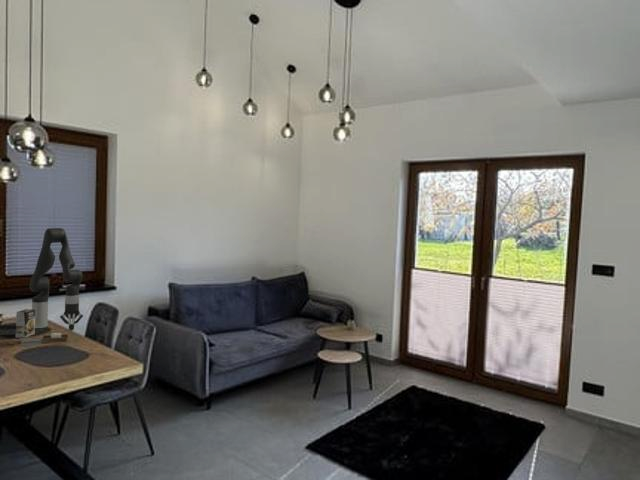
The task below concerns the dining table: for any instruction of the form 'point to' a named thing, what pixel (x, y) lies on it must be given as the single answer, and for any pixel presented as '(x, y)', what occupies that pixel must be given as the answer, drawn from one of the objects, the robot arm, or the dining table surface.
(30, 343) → the pad
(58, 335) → the pale block
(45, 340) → the chute
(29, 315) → the coffee box
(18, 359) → the dining table surface
